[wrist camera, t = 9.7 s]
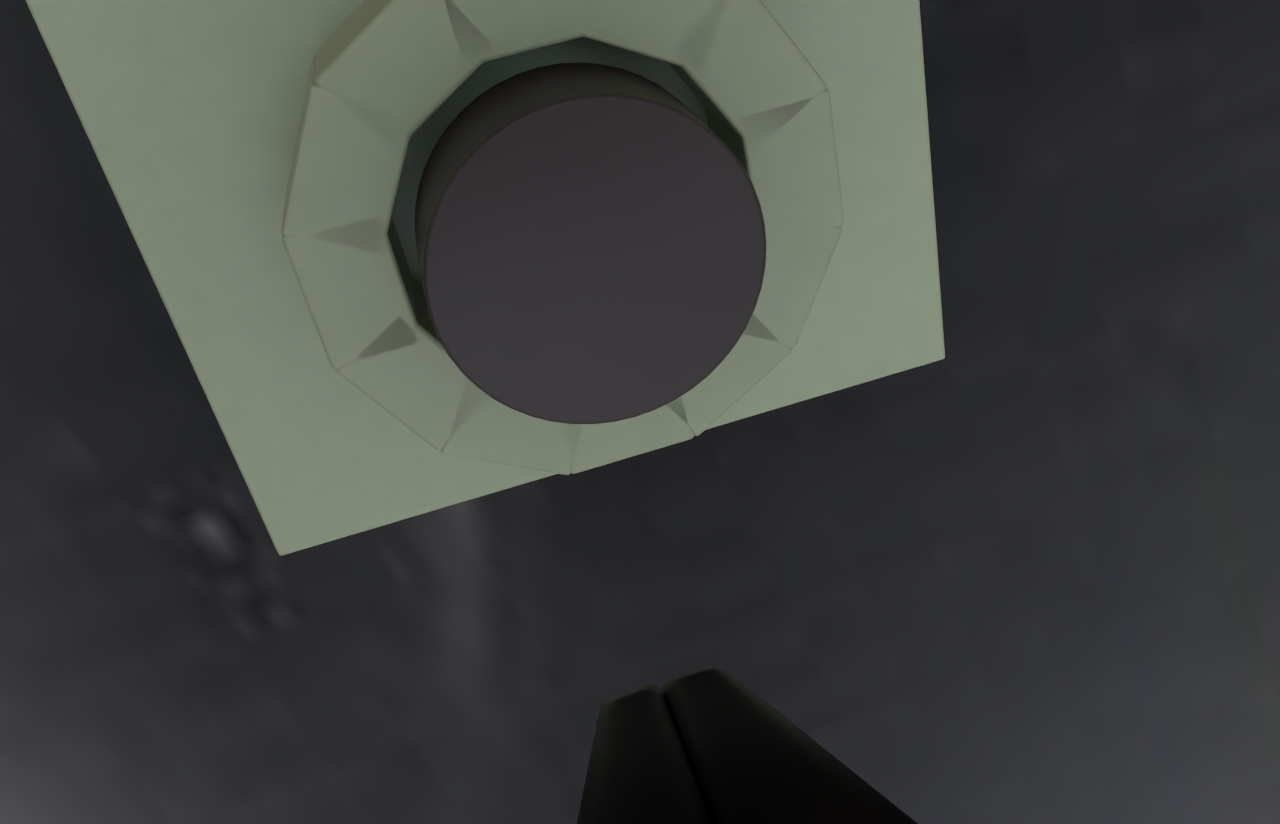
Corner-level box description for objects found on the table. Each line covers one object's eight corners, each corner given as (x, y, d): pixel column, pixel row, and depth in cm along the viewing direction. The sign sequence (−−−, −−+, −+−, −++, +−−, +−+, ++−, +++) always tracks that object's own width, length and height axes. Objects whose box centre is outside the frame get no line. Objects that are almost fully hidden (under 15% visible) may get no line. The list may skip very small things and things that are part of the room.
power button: (465, 399, 15) (477, 464, 14) (370, 109, 13) (374, 150, 12) (746, 318, 16) (789, 373, 14) (696, 24, 14) (739, 53, 12)
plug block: (284, 499, 19) (273, 632, 16) (32, -72, 15) (-48, -35, 12) (902, 318, 20) (1001, 410, 17) (849, -268, 16) (969, -282, 13)
